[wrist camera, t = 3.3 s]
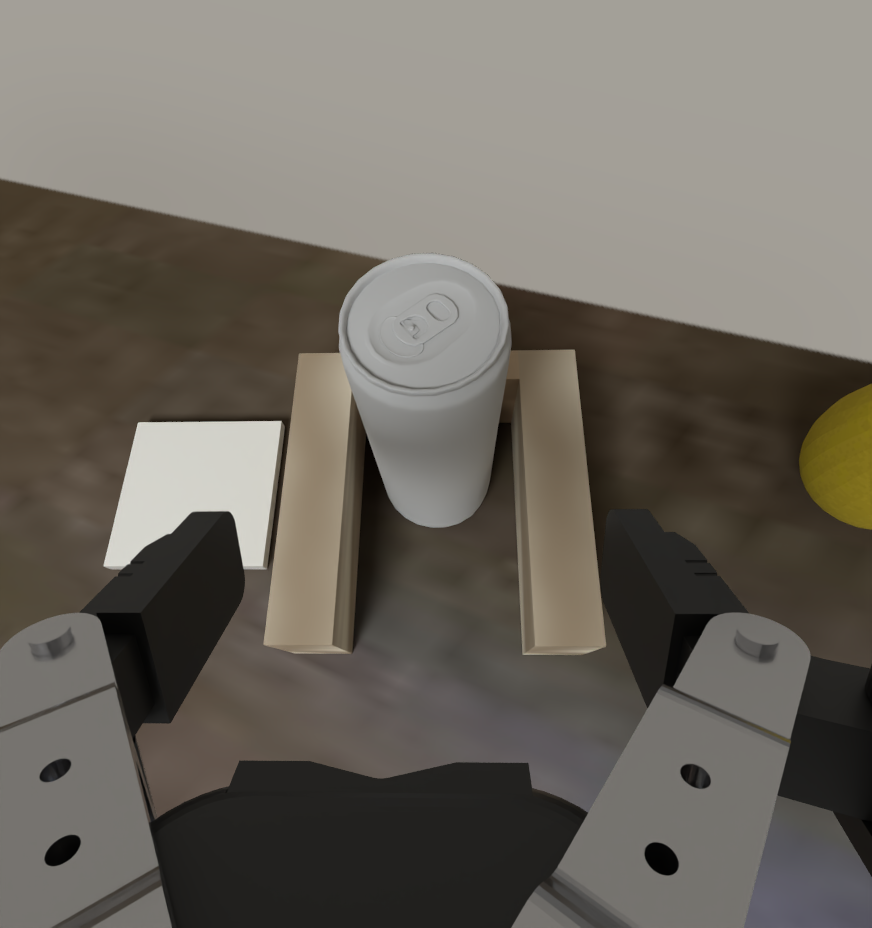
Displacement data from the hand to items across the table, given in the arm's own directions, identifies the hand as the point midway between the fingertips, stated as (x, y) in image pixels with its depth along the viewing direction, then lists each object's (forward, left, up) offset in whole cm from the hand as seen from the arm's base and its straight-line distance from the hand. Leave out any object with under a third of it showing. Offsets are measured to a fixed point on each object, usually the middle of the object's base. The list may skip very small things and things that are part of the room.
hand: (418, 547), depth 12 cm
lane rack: (0, -5, -12) cm, 13 cm away
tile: (+11, -6, -12) cm, 18 cm away
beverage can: (0, -6, -13) cm, 14 cm away
